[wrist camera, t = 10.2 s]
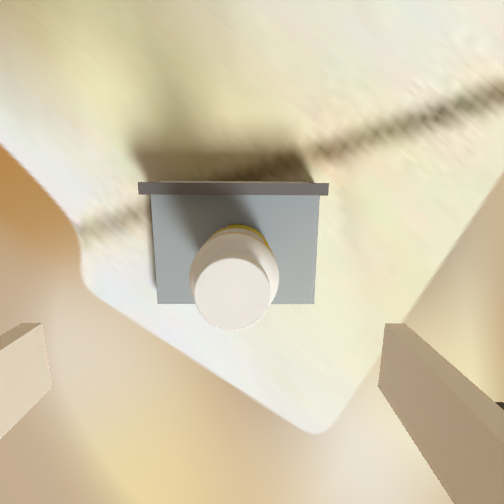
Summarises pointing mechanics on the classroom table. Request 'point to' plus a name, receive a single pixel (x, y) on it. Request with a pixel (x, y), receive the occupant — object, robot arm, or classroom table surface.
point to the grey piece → (235, 212)
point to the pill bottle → (234, 277)
